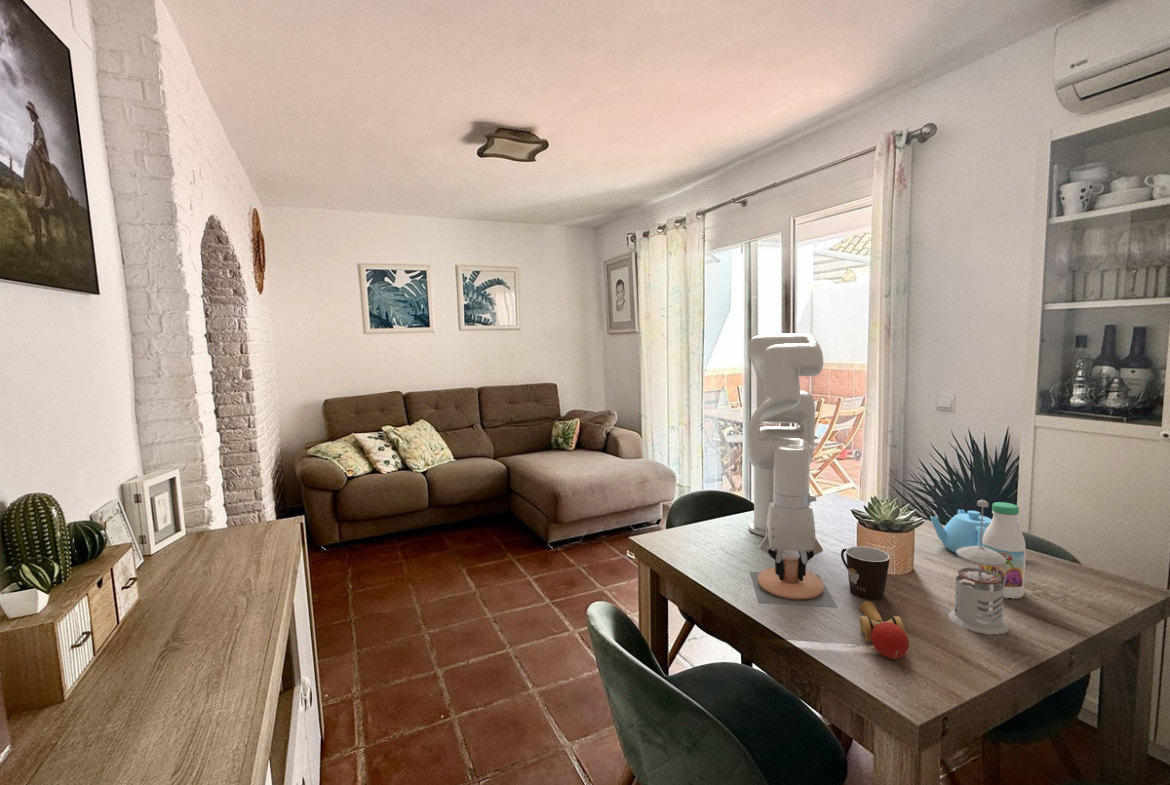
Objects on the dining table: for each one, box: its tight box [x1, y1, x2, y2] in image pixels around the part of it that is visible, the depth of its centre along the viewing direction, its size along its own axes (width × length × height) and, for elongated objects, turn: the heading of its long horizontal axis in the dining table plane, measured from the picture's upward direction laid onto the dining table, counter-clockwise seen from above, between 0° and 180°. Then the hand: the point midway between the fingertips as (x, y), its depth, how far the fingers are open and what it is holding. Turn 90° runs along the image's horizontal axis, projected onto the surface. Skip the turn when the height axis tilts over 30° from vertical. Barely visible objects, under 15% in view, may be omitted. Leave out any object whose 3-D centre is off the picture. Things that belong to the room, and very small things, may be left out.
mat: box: [749, 570, 839, 608], centre depth 122 cm, size 16×16×1 cm
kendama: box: [859, 600, 910, 660], centre depth 103 cm, size 8×6×18 cm
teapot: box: [929, 508, 1021, 555], centre depth 143 cm, size 15×15×11 cm
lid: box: [758, 555, 825, 599], centre depth 122 cm, size 14×14×6 cm
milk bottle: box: [981, 501, 1027, 600], centre depth 119 cm, size 8×8×20 cm
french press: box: [948, 499, 1009, 635], centre depth 107 cm, size 10×12×25 cm
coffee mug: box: [840, 545, 891, 601], centre depth 120 cm, size 12×9×10 cm
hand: (790, 577), depth 122 cm, fingers closed on lid, 3 cm apart
